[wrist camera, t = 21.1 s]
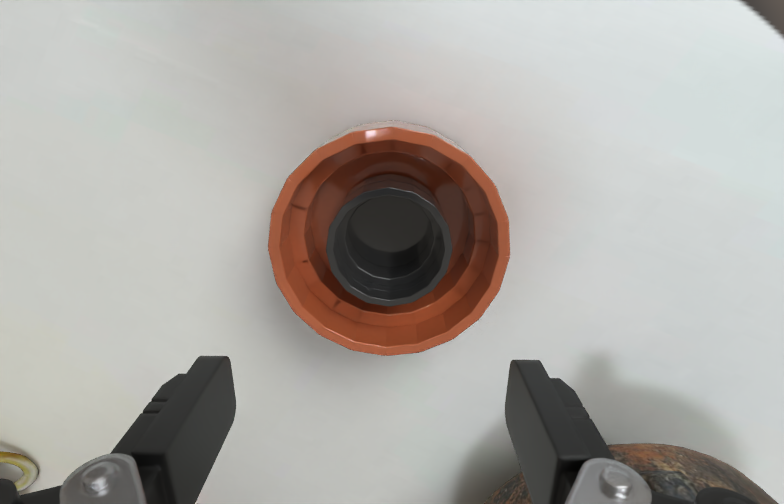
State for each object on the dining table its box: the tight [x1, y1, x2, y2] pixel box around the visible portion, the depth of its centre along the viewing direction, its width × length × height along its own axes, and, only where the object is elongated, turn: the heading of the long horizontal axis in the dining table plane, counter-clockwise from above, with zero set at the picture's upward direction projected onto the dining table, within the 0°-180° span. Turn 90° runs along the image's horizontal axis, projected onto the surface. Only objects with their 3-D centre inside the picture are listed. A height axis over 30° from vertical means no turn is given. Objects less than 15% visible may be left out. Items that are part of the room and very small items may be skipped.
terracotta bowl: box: [268, 120, 510, 356], centre depth 25 cm, size 12×12×5 cm
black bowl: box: [326, 174, 453, 307], centre depth 25 cm, size 6×6×4 cm
